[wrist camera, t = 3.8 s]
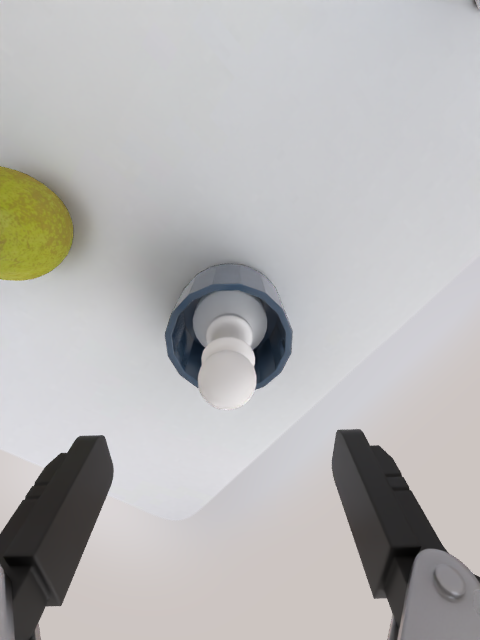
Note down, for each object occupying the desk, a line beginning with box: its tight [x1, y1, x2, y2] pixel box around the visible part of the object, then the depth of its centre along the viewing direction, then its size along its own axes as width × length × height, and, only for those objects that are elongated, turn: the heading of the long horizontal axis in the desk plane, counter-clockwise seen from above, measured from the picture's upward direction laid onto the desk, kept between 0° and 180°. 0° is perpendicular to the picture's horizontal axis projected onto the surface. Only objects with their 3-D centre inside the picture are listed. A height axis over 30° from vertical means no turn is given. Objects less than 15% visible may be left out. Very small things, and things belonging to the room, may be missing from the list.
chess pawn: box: [193, 290, 267, 410], centre depth 17 cm, size 5×5×9 cm
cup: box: [165, 264, 292, 390], centre depth 19 cm, size 7×7×4 cm
